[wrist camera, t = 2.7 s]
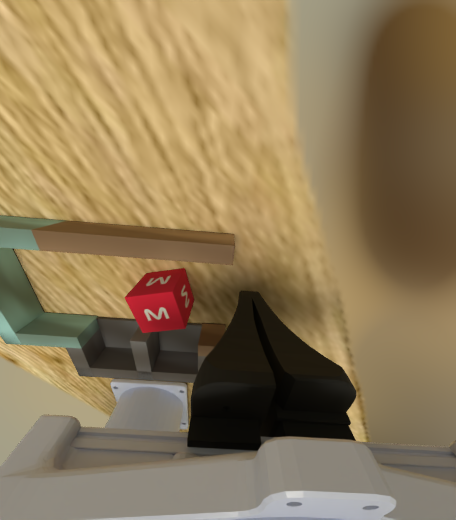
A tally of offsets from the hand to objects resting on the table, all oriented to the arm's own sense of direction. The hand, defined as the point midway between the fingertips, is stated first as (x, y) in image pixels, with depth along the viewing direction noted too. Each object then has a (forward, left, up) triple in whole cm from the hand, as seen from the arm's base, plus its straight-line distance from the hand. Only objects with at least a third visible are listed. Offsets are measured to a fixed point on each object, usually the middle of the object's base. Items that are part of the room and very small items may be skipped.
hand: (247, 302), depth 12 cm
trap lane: (-2, +10, -1) cm, 10 cm away
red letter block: (0, +6, -1) cm, 6 cm away
